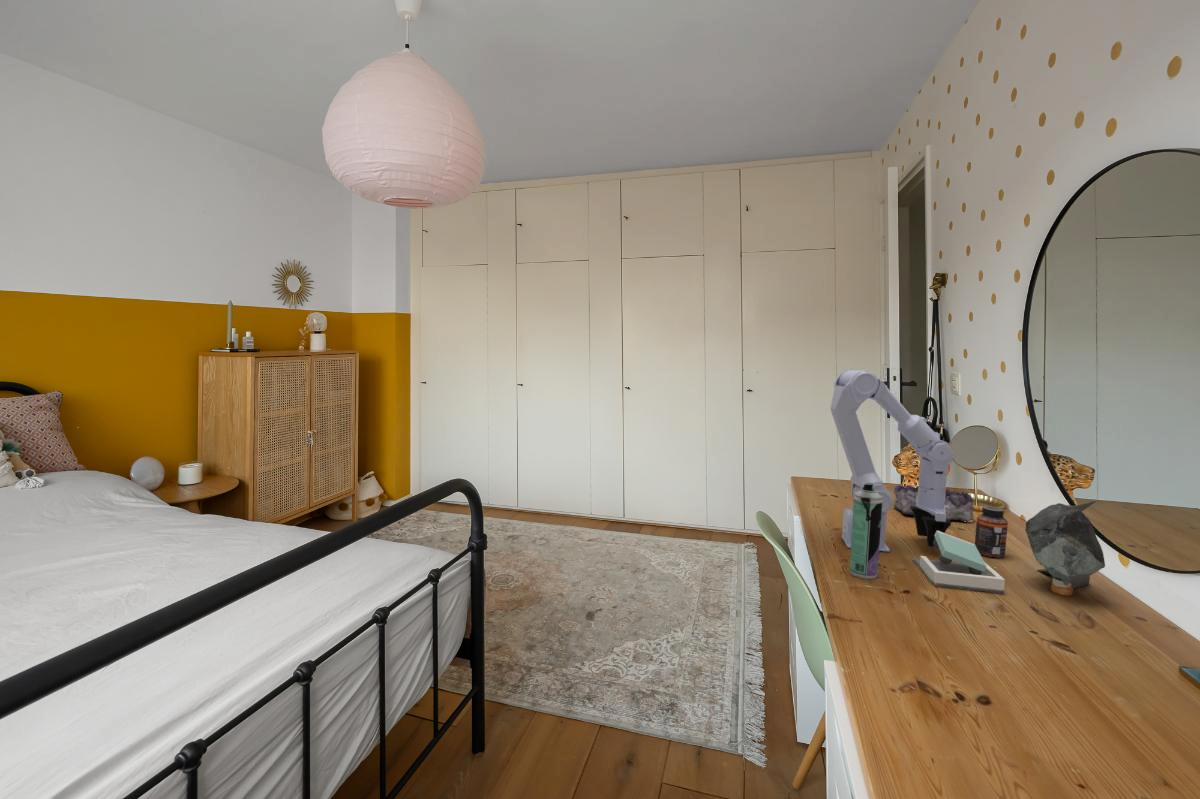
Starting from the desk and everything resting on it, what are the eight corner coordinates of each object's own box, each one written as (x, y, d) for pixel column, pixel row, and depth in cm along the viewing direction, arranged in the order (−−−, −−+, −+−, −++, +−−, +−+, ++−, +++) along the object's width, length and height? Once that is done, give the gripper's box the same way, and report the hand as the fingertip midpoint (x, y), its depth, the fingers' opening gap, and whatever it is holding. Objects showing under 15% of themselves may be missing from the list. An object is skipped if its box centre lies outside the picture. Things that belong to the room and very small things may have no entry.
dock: (933, 586, 108) (934, 572, 108) (911, 559, 122) (912, 546, 122) (1003, 594, 105) (1004, 579, 105) (972, 565, 119) (973, 552, 119)
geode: (968, 515, 156) (973, 484, 154) (976, 532, 146) (981, 499, 144) (891, 503, 165) (895, 473, 163) (893, 518, 155) (897, 487, 153)
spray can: (881, 580, 111) (887, 487, 109) (853, 577, 112) (858, 486, 110) (873, 569, 116) (878, 481, 114) (846, 567, 117) (851, 479, 115)
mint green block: (937, 563, 110) (944, 550, 109) (930, 541, 120) (935, 529, 119) (980, 579, 108) (987, 566, 107) (969, 556, 117) (975, 544, 116)
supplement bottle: (1005, 561, 122) (1009, 513, 121) (973, 554, 125) (977, 508, 124) (1004, 553, 126) (1008, 507, 125) (974, 547, 130) (978, 503, 129)
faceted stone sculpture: (998, 578, 112) (1006, 496, 110) (1044, 568, 118) (1052, 490, 116) (1079, 609, 99) (1088, 517, 97) (1126, 597, 104) (1136, 509, 102)
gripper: (962, 496, 120) (958, 553, 122) (939, 481, 134) (935, 532, 136) (928, 494, 122) (924, 550, 123) (908, 479, 136) (905, 529, 137)
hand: (927, 540), depth 130 cm, fingers open, 7 cm apart
